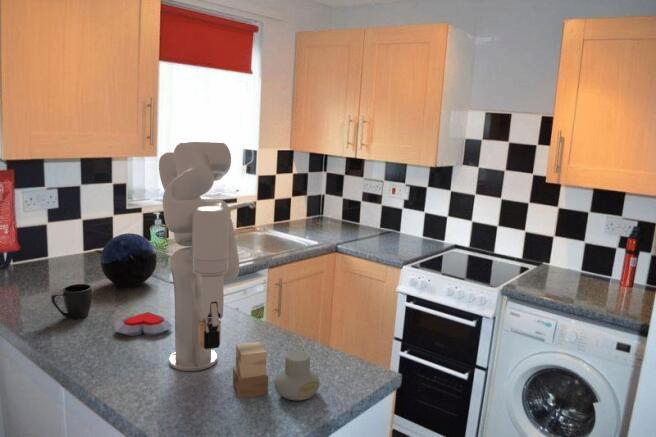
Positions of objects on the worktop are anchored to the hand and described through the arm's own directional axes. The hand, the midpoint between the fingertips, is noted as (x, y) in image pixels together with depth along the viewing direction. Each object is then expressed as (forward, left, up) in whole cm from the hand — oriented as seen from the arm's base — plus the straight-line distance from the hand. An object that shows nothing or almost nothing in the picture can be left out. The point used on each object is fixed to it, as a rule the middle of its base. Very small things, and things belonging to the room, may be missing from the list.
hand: (209, 341), depth 117 cm
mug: (-66, -32, -17) cm, 75 cm away
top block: (-6, +11, -12) cm, 17 cm away
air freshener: (-1, +21, -17) cm, 27 cm away
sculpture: (-51, -11, -17) cm, 55 cm away
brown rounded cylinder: (0, 0, 0) cm, 0 cm away
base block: (-6, +11, -17) cm, 21 cm away
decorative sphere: (-95, -14, -17) cm, 98 cm away
